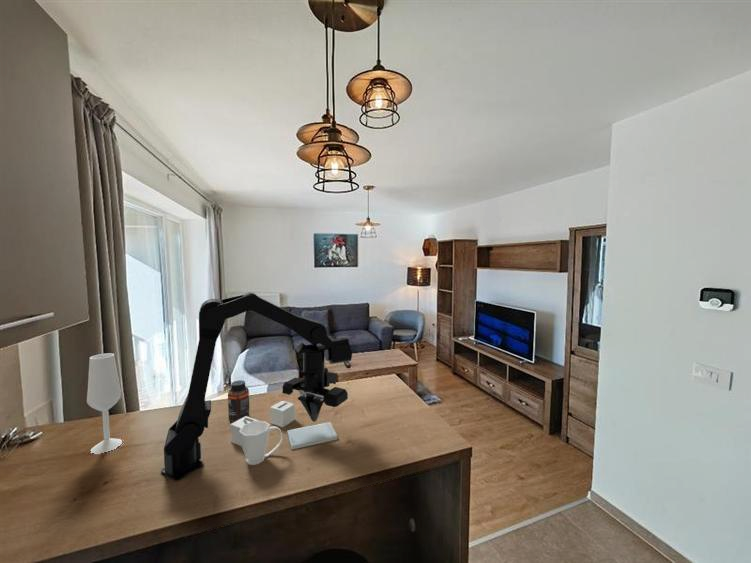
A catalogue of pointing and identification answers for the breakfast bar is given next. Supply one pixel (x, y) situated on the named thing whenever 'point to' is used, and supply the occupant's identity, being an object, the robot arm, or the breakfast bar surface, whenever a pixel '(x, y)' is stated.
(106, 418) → the champagne flute
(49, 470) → the breakfast bar surface
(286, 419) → the block one
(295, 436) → the hard drive
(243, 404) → the supplement bottle
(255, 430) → the cup
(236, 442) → the block seven
